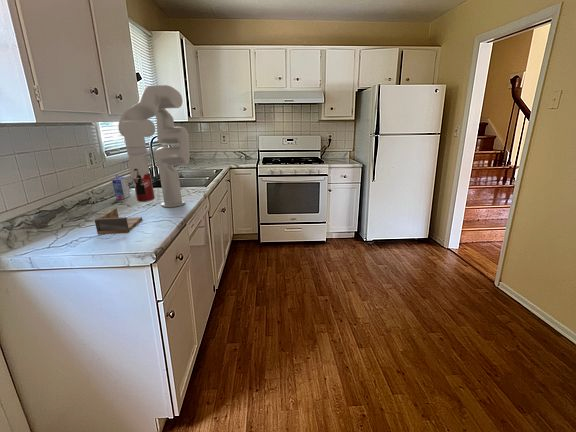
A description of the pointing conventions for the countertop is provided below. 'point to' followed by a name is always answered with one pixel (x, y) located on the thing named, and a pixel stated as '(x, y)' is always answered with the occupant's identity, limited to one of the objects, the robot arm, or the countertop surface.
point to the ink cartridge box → (121, 187)
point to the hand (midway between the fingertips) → (144, 191)
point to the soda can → (148, 189)
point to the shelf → (115, 223)
